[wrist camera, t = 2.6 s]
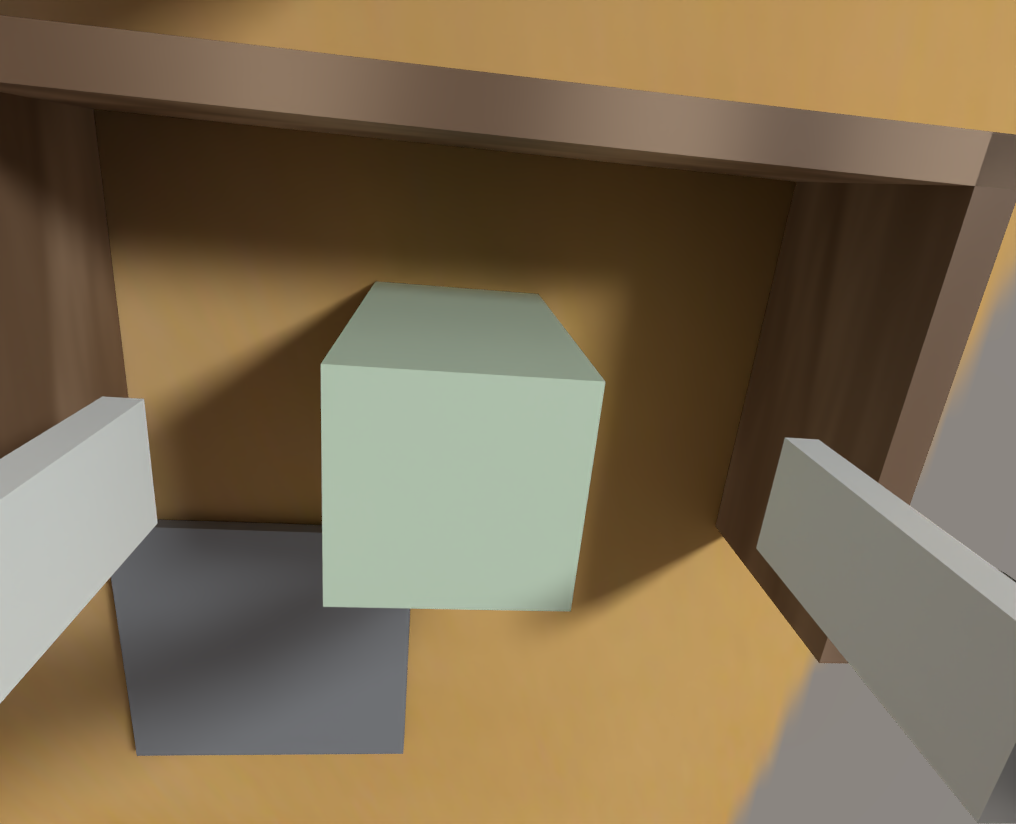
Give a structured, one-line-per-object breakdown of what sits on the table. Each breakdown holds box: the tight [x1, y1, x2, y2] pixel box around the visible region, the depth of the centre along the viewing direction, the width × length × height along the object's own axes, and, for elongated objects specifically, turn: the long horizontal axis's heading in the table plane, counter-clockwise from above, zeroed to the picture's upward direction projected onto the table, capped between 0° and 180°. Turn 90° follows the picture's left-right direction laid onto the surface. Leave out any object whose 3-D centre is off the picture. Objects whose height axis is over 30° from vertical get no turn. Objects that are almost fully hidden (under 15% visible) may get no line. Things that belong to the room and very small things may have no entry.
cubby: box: [0, 15, 1016, 663], centre depth 17 cm, size 22×13×7 cm, turn 85°
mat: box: [111, 520, 410, 756], centre depth 23 cm, size 10×10×1 cm
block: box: [321, 281, 605, 611], centre depth 16 cm, size 5×5×9 cm
